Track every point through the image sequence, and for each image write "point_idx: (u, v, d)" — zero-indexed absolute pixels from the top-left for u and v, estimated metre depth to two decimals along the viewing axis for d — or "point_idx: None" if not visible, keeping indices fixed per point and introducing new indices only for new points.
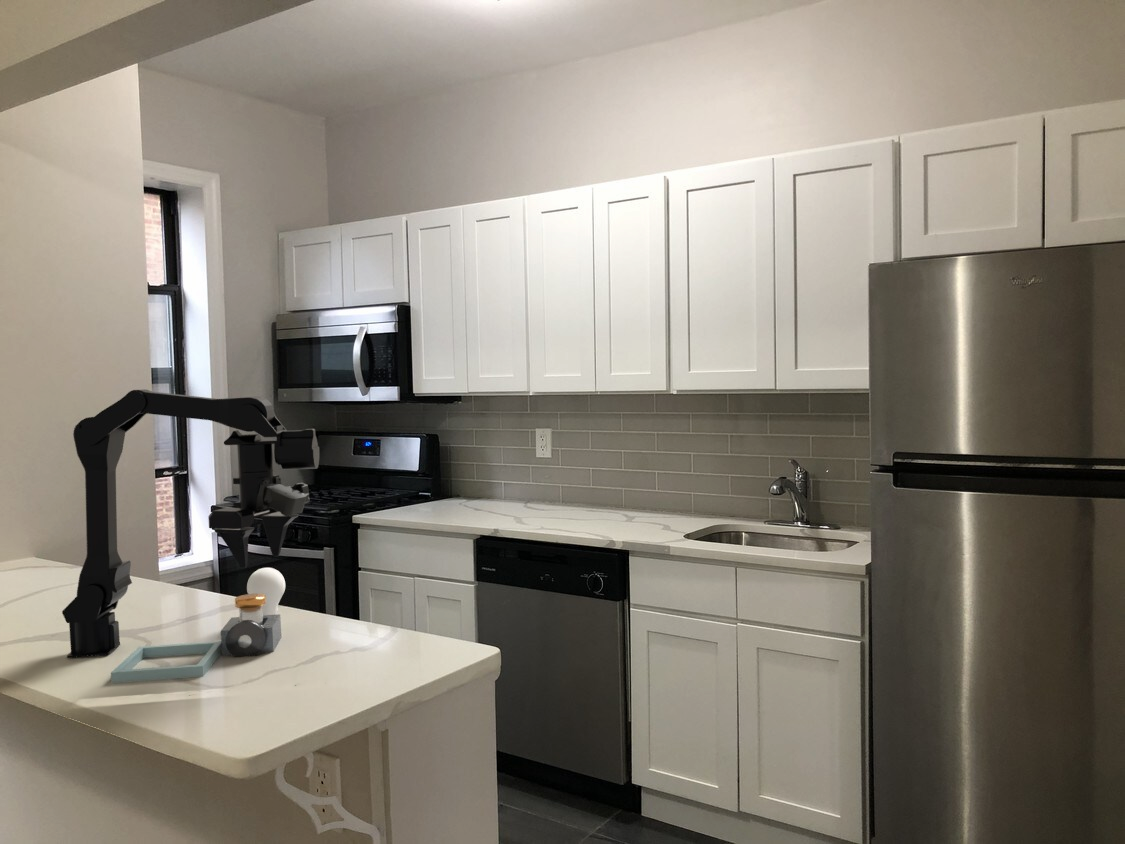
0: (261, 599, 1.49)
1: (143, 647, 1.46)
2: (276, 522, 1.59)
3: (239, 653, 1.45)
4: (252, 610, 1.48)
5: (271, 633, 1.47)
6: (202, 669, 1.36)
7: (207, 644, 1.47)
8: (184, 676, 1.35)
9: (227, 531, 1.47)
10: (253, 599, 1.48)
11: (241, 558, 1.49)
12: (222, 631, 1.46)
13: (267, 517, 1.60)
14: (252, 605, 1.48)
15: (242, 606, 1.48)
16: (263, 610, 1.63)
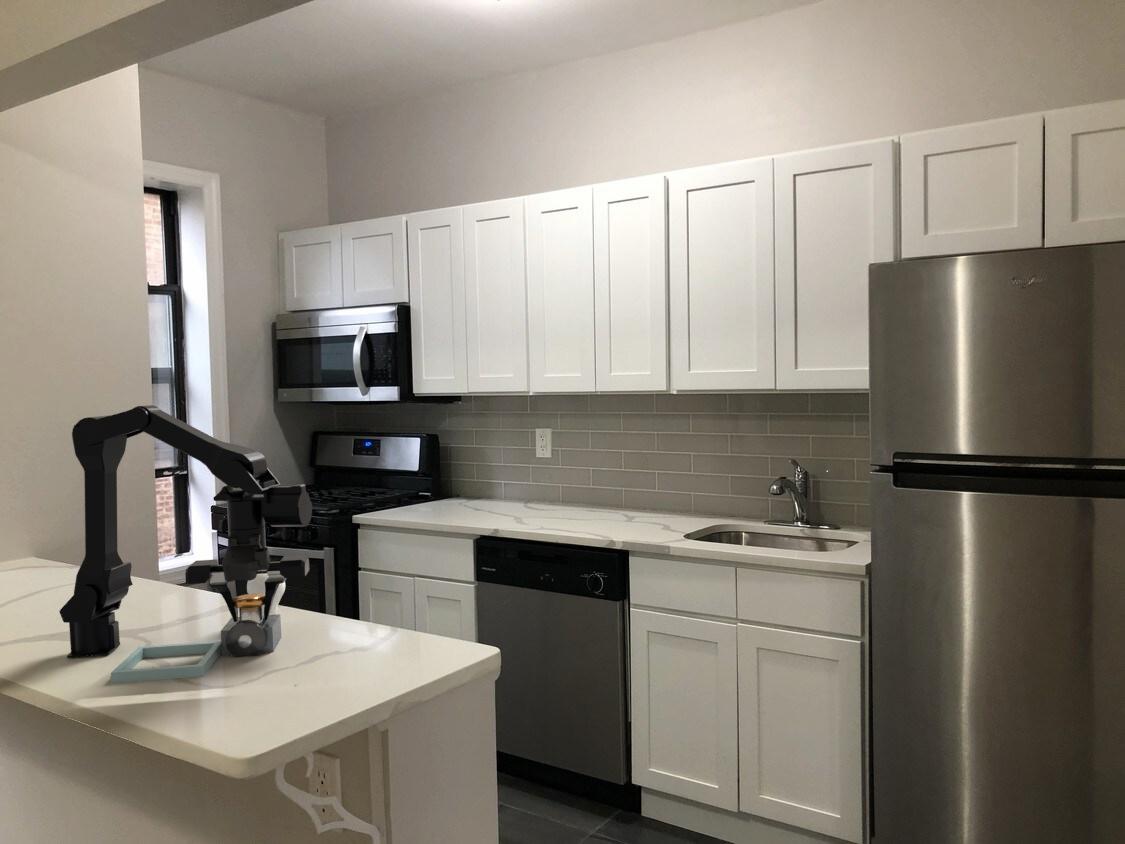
0: (261, 599, 1.49)
1: (143, 647, 1.46)
2: None
3: (239, 653, 1.45)
4: (251, 610, 1.48)
5: (271, 633, 1.47)
6: (202, 669, 1.36)
7: (207, 644, 1.47)
8: (184, 676, 1.35)
9: None
10: (253, 599, 1.48)
11: None
12: (222, 631, 1.46)
13: None
14: (252, 605, 1.48)
15: (242, 606, 1.48)
16: (263, 610, 1.63)
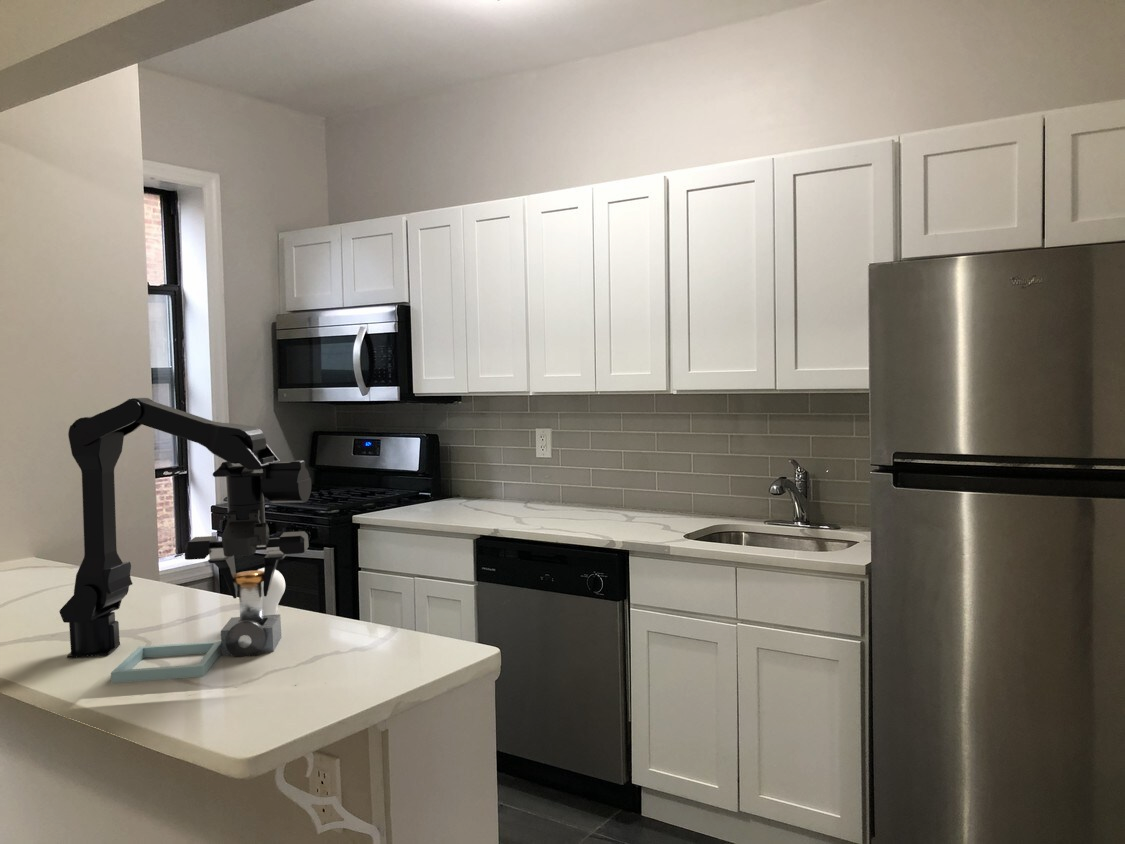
0: (260, 575, 1.49)
1: (143, 647, 1.46)
2: None
3: (239, 653, 1.45)
4: (251, 586, 1.48)
5: (271, 633, 1.47)
6: (202, 669, 1.36)
7: (207, 644, 1.47)
8: (184, 676, 1.35)
9: None
10: (252, 575, 1.48)
11: None
12: (222, 631, 1.46)
13: None
14: (251, 581, 1.48)
15: (241, 582, 1.47)
16: (263, 610, 1.63)
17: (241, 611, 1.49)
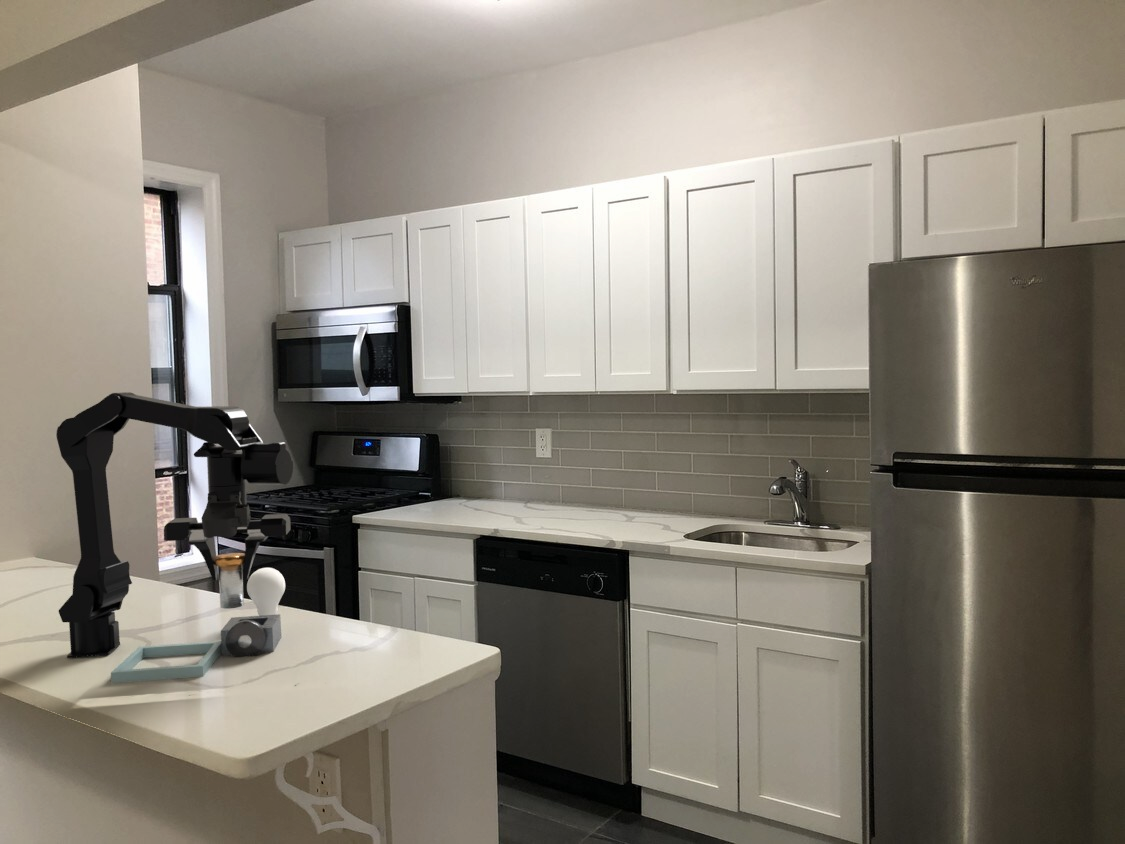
0: (241, 558, 1.47)
1: (143, 647, 1.46)
2: None
3: (239, 653, 1.45)
4: (231, 568, 1.46)
5: (271, 633, 1.47)
6: (202, 669, 1.36)
7: (207, 644, 1.47)
8: (184, 676, 1.35)
9: None
10: (233, 557, 1.46)
11: None
12: (222, 631, 1.46)
13: None
14: (232, 563, 1.45)
15: (222, 564, 1.45)
16: (263, 610, 1.63)
17: (221, 593, 1.46)
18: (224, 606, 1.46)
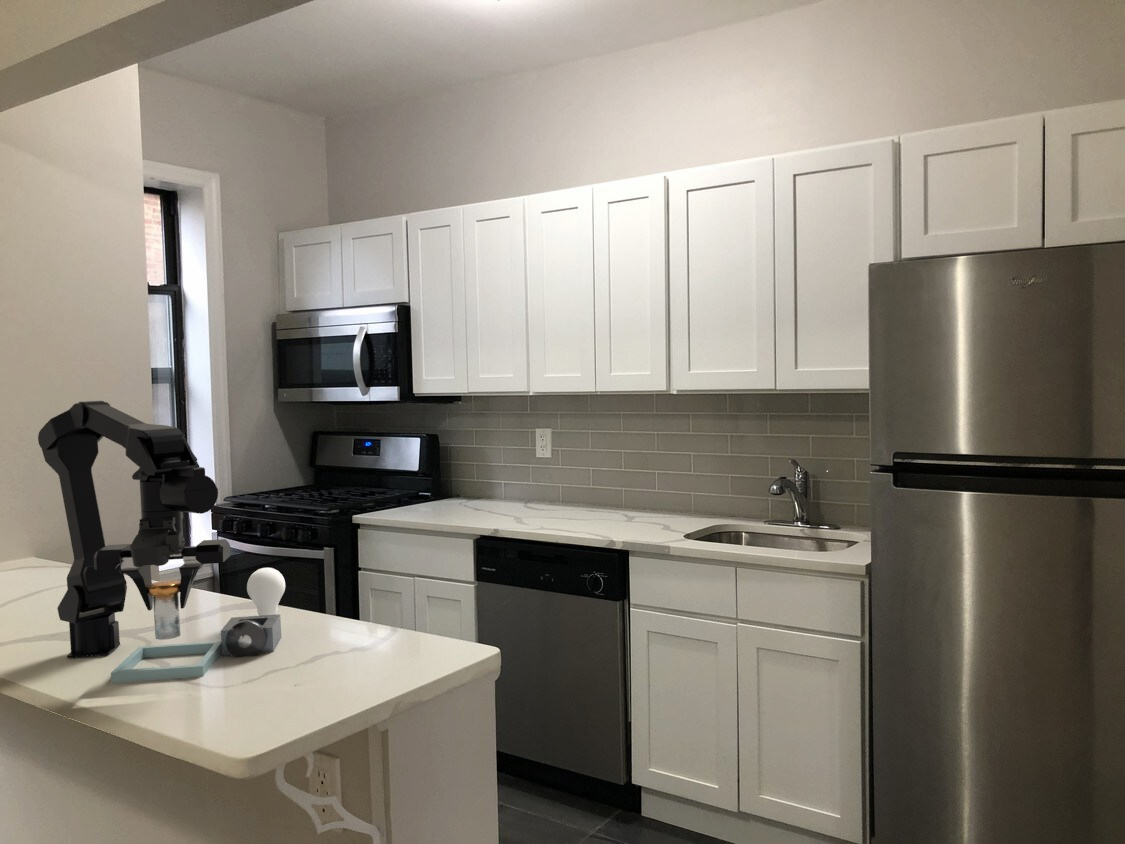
0: (176, 586, 1.40)
1: (143, 647, 1.46)
2: None
3: (239, 653, 1.45)
4: (166, 598, 1.39)
5: (271, 633, 1.47)
6: (202, 669, 1.36)
7: (207, 644, 1.47)
8: (184, 676, 1.35)
9: None
10: (167, 586, 1.39)
11: None
12: (222, 631, 1.46)
13: None
14: (166, 592, 1.39)
15: (155, 593, 1.38)
16: (263, 610, 1.63)
17: (155, 624, 1.40)
18: (159, 637, 1.39)
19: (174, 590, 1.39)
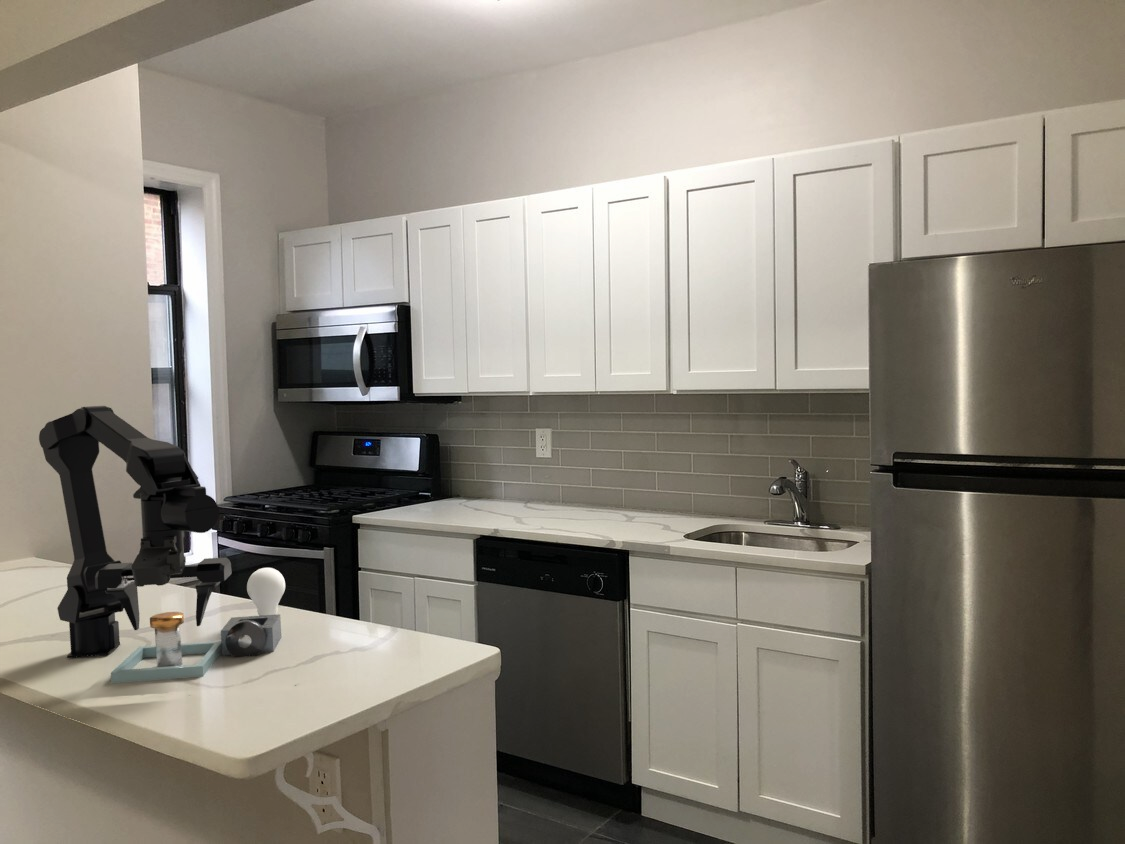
0: (178, 618, 1.40)
1: (143, 647, 1.46)
2: None
3: (239, 653, 1.45)
4: (167, 630, 1.39)
5: (271, 633, 1.47)
6: (202, 669, 1.36)
7: (207, 644, 1.47)
8: (184, 676, 1.35)
9: None
10: (169, 619, 1.39)
11: None
12: (222, 631, 1.46)
13: None
14: (167, 625, 1.39)
15: (157, 626, 1.38)
16: (263, 610, 1.63)
17: (157, 656, 1.40)
18: None
19: (176, 623, 1.39)
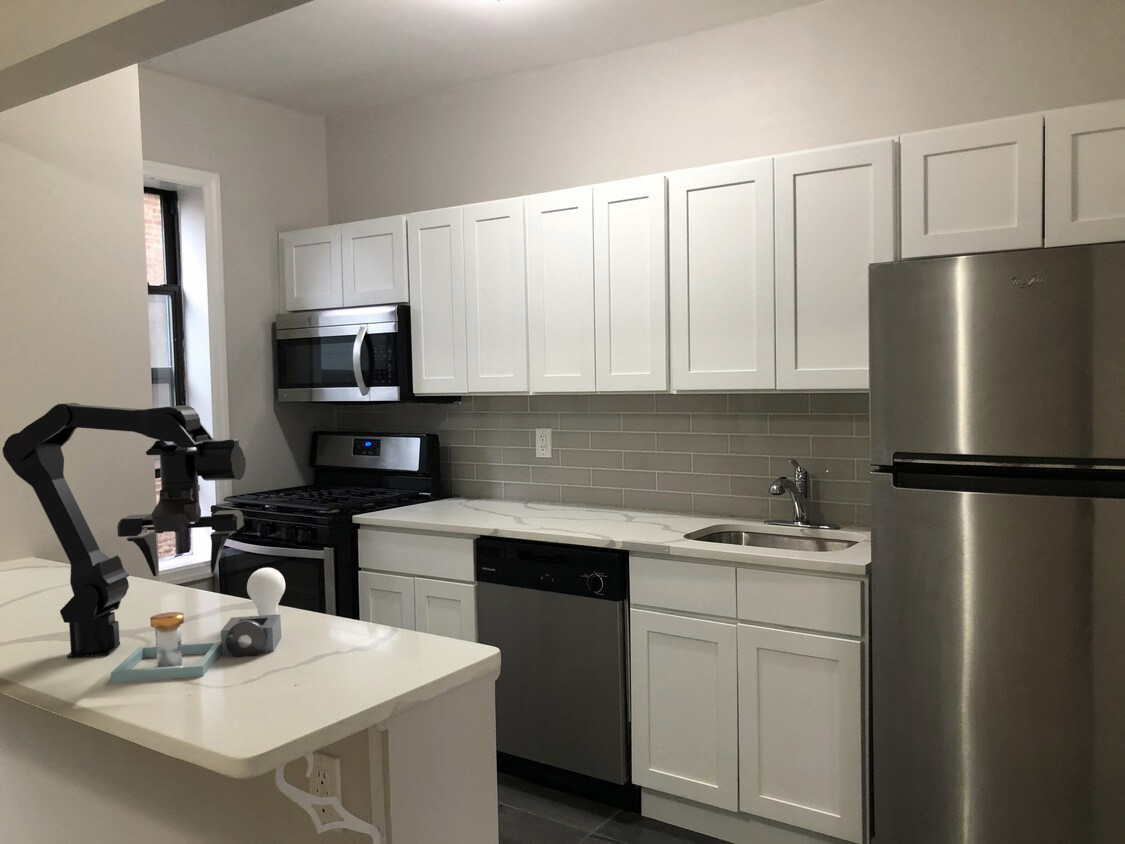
0: (178, 618, 1.40)
1: (143, 647, 1.46)
2: None
3: (239, 653, 1.45)
4: (168, 630, 1.39)
5: (271, 633, 1.47)
6: (202, 669, 1.36)
7: (207, 644, 1.47)
8: (184, 676, 1.35)
9: None
10: (169, 618, 1.39)
11: None
12: (222, 631, 1.46)
13: None
14: (168, 625, 1.39)
15: (157, 626, 1.39)
16: (263, 610, 1.63)
17: (158, 656, 1.40)
18: None
19: (176, 622, 1.40)
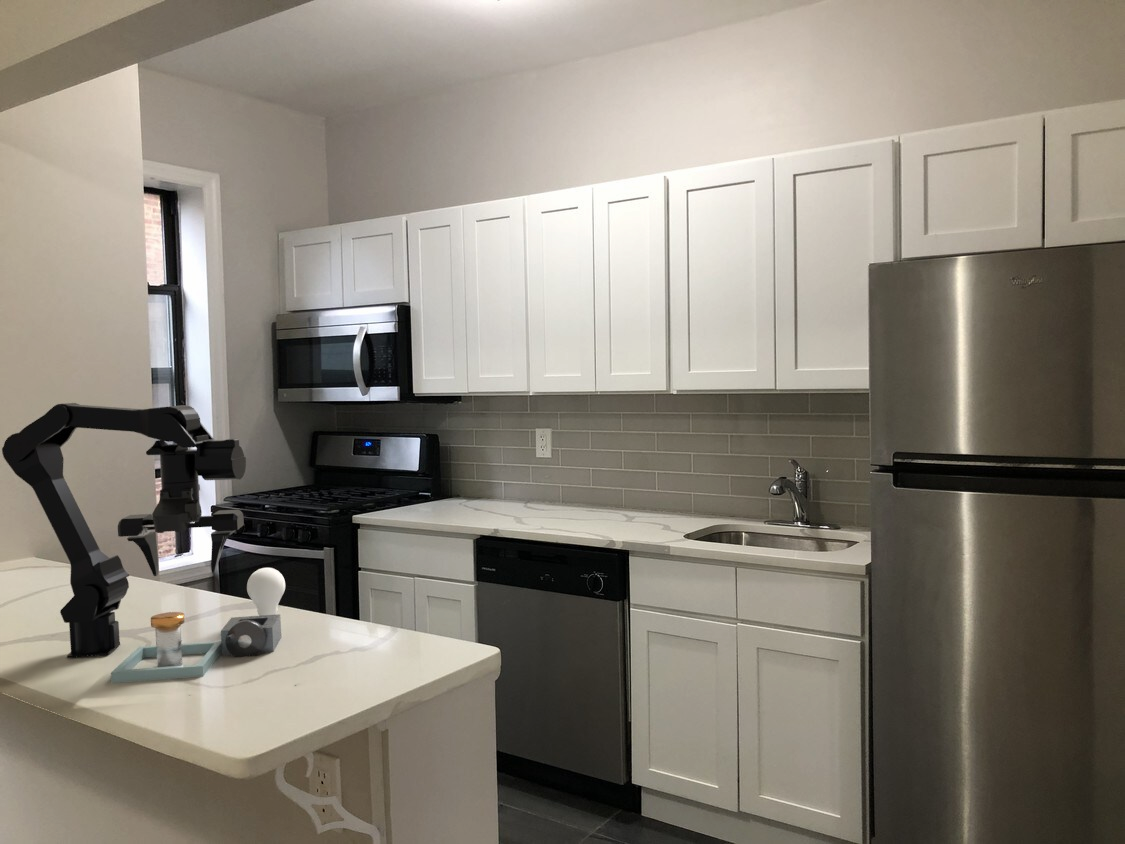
0: (178, 618, 1.40)
1: (143, 647, 1.46)
2: None
3: (239, 653, 1.45)
4: (168, 630, 1.39)
5: (271, 633, 1.47)
6: (202, 669, 1.36)
7: (207, 644, 1.47)
8: (184, 676, 1.35)
9: None
10: (170, 618, 1.39)
11: None
12: (222, 631, 1.46)
13: None
14: (168, 625, 1.39)
15: (157, 626, 1.39)
16: (263, 610, 1.63)
17: (158, 656, 1.40)
18: None
19: (176, 622, 1.40)
